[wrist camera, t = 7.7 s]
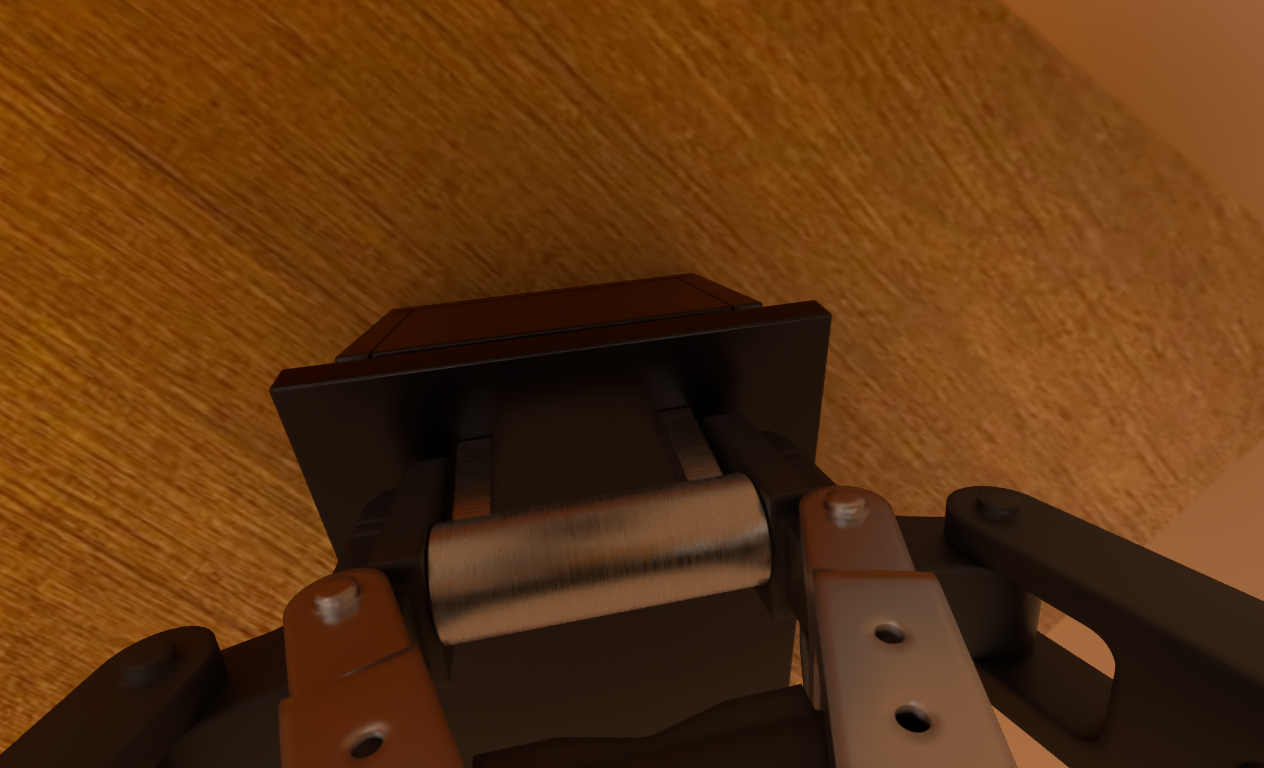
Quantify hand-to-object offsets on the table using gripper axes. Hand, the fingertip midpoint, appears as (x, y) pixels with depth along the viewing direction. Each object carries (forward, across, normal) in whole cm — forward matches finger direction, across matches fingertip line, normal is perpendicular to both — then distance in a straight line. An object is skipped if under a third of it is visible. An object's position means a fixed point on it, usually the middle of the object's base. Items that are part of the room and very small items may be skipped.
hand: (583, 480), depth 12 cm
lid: (+2, 0, +4) cm, 4 cm away
